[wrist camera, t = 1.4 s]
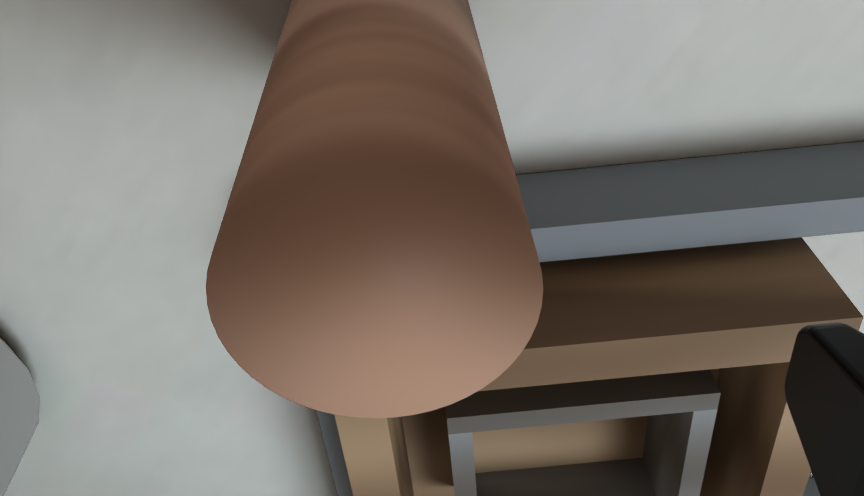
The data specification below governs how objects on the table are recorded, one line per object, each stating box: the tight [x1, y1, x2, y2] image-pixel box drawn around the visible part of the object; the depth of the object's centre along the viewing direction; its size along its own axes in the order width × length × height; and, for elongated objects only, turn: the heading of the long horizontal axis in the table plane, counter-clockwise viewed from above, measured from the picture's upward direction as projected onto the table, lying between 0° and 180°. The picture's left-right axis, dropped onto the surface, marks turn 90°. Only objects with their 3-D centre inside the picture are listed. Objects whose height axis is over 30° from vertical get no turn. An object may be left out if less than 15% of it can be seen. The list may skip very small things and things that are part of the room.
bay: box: [316, 141, 864, 496], centre depth 23 cm, size 15×27×4 cm, turn 95°
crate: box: [334, 237, 863, 496], centre depth 22 cm, size 12×12×4 cm
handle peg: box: [206, 0, 543, 418], centre depth 13 cm, size 4×4×10 cm
